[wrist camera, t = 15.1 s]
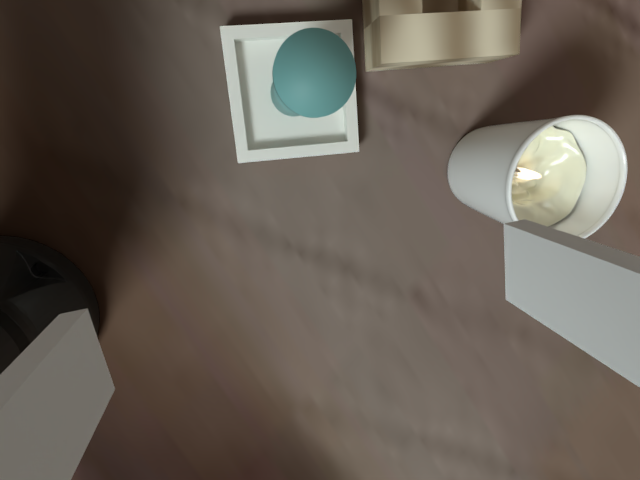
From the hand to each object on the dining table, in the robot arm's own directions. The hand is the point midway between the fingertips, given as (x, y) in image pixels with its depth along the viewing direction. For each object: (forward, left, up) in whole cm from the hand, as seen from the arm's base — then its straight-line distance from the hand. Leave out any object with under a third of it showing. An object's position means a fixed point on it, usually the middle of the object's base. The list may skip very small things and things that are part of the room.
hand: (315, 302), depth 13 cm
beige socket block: (+16, +15, -28) cm, 36 cm away
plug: (+3, +8, -27) cm, 29 cm away
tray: (+3, +8, -28) cm, 29 cm away
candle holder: (+22, -1, -28) cm, 36 cm away
